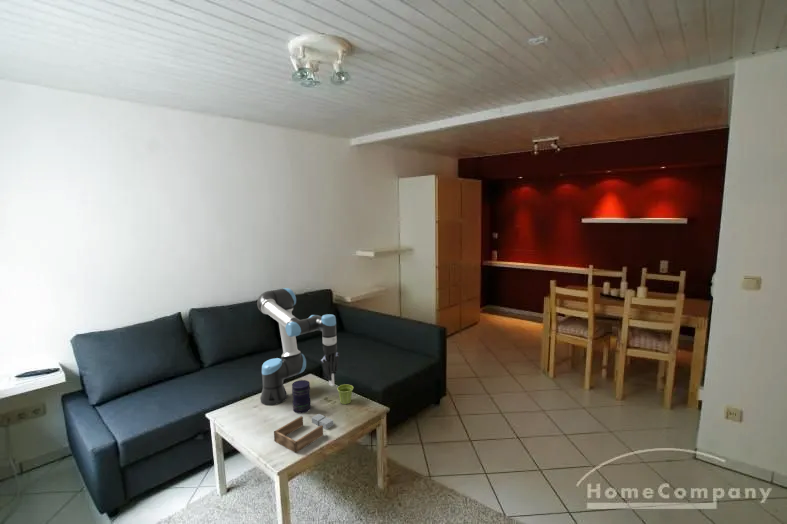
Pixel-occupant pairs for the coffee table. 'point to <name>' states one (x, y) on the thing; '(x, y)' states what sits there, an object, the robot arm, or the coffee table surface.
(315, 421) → the tile
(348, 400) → the plant pot
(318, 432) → the frame
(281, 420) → the coffee table surface
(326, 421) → the tile
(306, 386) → the storage jar
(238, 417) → the coffee table surface
